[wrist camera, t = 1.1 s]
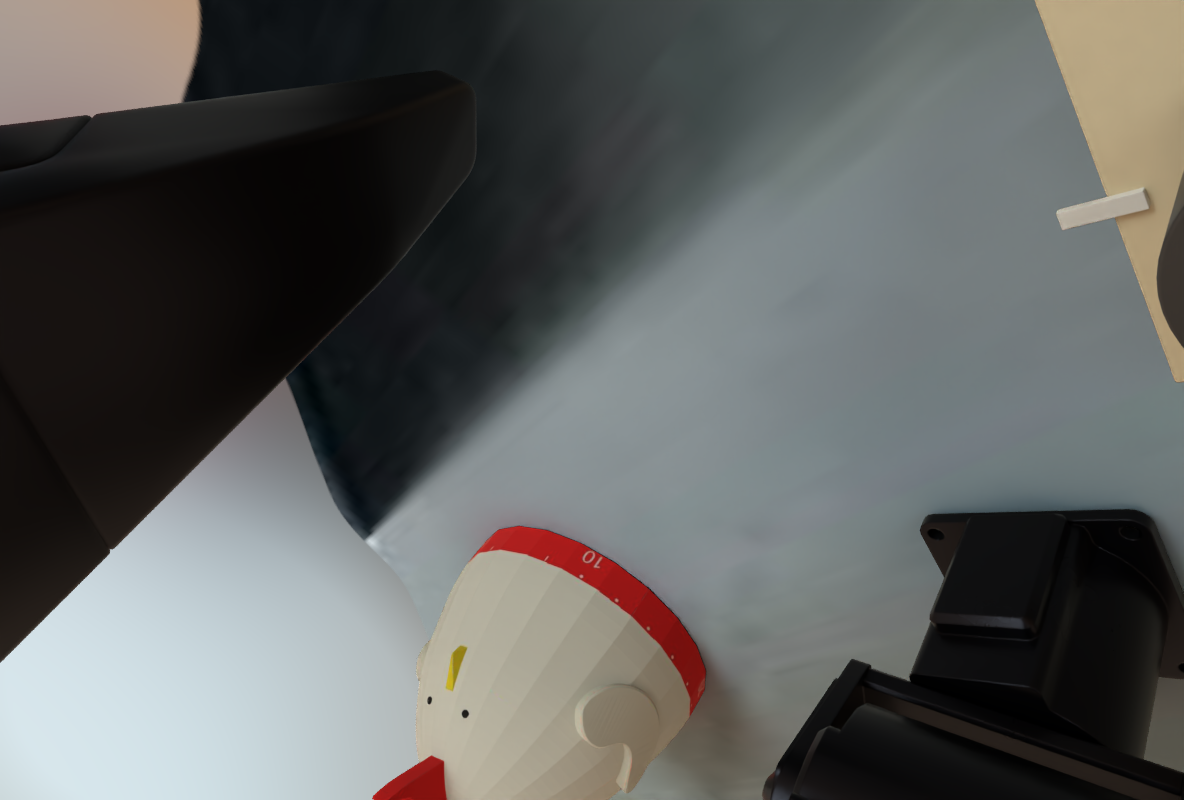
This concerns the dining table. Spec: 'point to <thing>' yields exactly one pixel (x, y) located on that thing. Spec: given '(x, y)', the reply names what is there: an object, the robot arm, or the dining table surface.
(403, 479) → the dining table surface
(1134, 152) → the wooden block
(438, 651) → the kitchen timer
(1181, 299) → the dial
